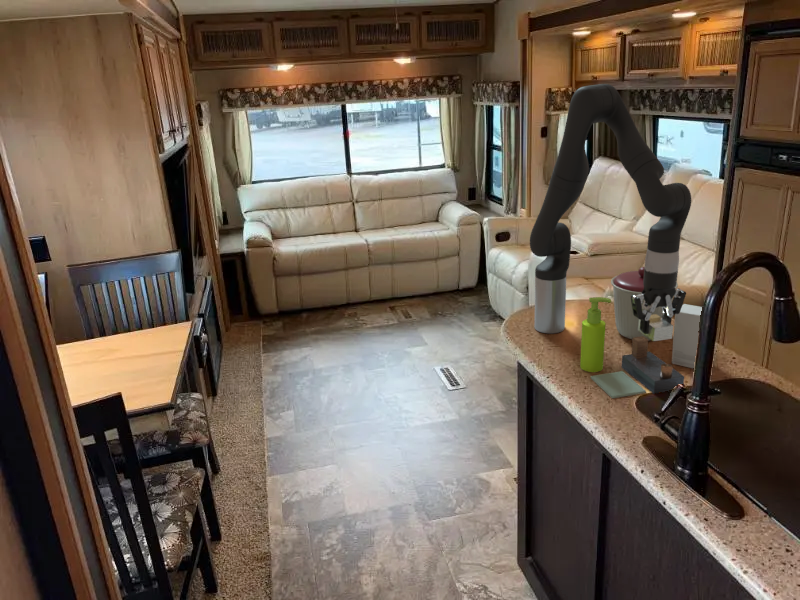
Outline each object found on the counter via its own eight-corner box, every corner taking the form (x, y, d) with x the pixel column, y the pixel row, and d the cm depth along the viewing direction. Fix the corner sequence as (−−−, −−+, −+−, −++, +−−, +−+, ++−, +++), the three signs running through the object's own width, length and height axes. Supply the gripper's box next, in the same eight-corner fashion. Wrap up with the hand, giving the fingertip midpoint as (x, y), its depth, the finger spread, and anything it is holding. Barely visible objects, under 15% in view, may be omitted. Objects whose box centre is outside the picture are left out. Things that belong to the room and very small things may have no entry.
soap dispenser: (608, 372, 162) (612, 302, 155) (581, 371, 164) (584, 302, 156) (605, 362, 167) (609, 294, 160) (579, 361, 169) (582, 294, 162)
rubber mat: (590, 378, 160) (590, 376, 160) (622, 373, 161) (622, 371, 161) (612, 398, 150) (612, 396, 150) (645, 392, 151) (645, 390, 151)
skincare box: (710, 362, 164) (717, 308, 158) (702, 372, 159) (708, 317, 154) (678, 354, 169) (684, 302, 164) (669, 363, 165) (674, 310, 159)
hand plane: (621, 367, 164) (623, 338, 161) (648, 362, 166) (651, 334, 163) (653, 393, 151) (656, 362, 148) (682, 388, 152) (686, 358, 149)
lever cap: (637, 330, 157) (639, 314, 155) (655, 327, 158) (657, 312, 156) (653, 341, 150) (655, 325, 149) (671, 338, 151) (673, 322, 150)
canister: (628, 350, 173) (633, 280, 166) (596, 326, 190) (600, 262, 183) (685, 341, 176) (693, 272, 169) (649, 319, 193) (655, 255, 186)
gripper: (678, 259, 152) (671, 321, 158) (625, 266, 150) (620, 329, 156) (697, 268, 145) (689, 333, 151) (642, 275, 143) (636, 341, 149)
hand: (654, 330), depth 154 cm, fingers closed on lever cap, 5 cm apart
